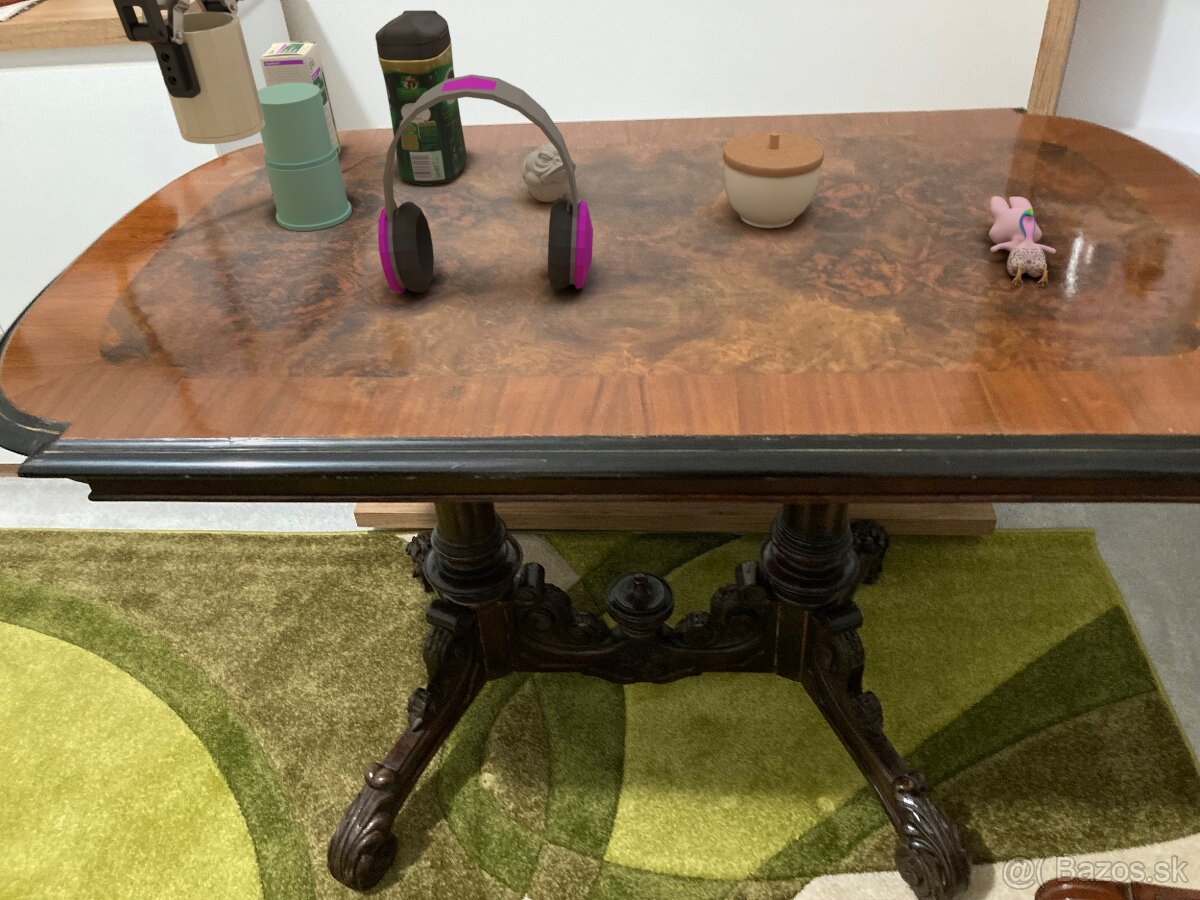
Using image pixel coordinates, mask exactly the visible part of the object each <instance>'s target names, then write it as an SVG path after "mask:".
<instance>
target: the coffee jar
mask: <svg viewBox="0 0 1200 900" xmlns="http://www.w3.org/2000/svg"><path fill="white" fill-rule="evenodd" d="M374 38H375V43H376V50H377V55H378V57H377V58H378V62H379V64H380V65H379V66H380V67H381V68H380V69H381V71H382V75H383V80H384V84H385V90H386V94H387V95H386V96H387V103H388V108H389V114H390V120H391V126H392V134H393V138H394V137H395V134H396V132H397V130H398V128H399V126H400V124H401V122H402V120H403V118H404V116H405V114H406V113H407V112H408V111H409V109H410V108H411V107H412V106H413V105H414V104H415V103H416V101H417V100H418V99H419V98H420V97H421V96H422V94H423V93H425V92H426V91H428V90H430V89H431V88H433V87H435V86H436V85H438V84H440V83H441V82H443V81H445V80H447V79H452V78H456V76H455V70H454V69H455V68H454V61H453V60H454V58H453V47H452V38H451V32H450V28H449V24H448V21H447V20H446V19H445V17H443V16H442V15H441V14H439V13H438V12H437V11H436V10H428V9H427V10H425V9H424V10H404V11H402V12H401V14H399V15H397V16H396V17H394V18H393V19H391V20H390V21H388V22H387V23H385V25H383V26H382V27H381V28H379V30H378V31H377V32H376V33H375V37H374ZM463 130H464V129H463V124H462V118H461V111H460V105H459V98H458V99H452V100H447V101H441V102H439V103H437V104H435V105H434V106H432V107H430V108H428V109H426V110H425V111H423V112H421V113H419V114H418V115H417V116H416V117H415V118H414V119H413V121H412V122H411V123H410V124H409V125H408V126H407V127H406V128H405V129H404V130H403V131H402V133H401V135H400V137H399V140H398V142H397V145H396V151H395V155H396V160H397V162H396V163H397V168H398V174H399V177H400V178H401V179H402V180H403V181H406V182H409V183H412V184H414V185H420V186H433V185H436V184H440V183H446V182H451V181H453V180H455V178H456V177H458V175H460V174H461V172H462V171H463V169H464V167H465V165H466V163H467V160H468V156H467V155H468V154H467V147H466V141H465V135H464V131H463Z"/></svg>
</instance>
